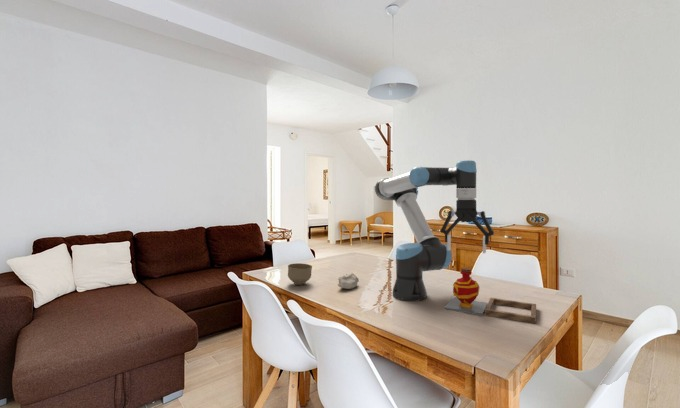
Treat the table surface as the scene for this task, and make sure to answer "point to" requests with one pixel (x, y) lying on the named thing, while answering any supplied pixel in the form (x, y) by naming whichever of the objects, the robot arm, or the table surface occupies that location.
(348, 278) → the stone
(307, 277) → the bowl
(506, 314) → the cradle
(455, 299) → the coaster
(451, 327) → the table surface
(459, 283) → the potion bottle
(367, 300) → the table surface
